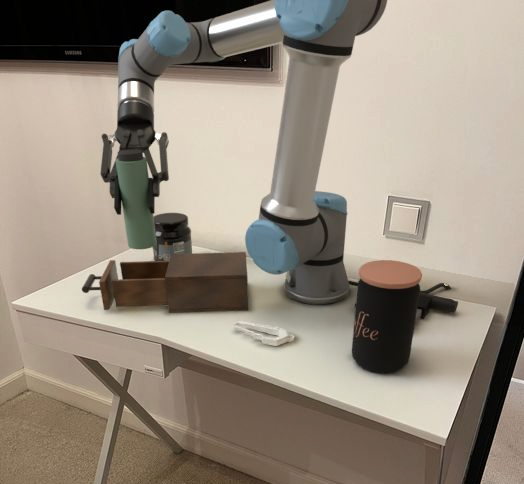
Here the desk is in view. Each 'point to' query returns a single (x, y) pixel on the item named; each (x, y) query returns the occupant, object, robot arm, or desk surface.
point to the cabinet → (207, 282)
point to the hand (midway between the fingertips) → (134, 210)
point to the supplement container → (171, 236)
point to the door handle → (433, 305)
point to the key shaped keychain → (268, 329)
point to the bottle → (135, 199)
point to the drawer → (132, 284)
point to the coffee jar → (385, 315)
